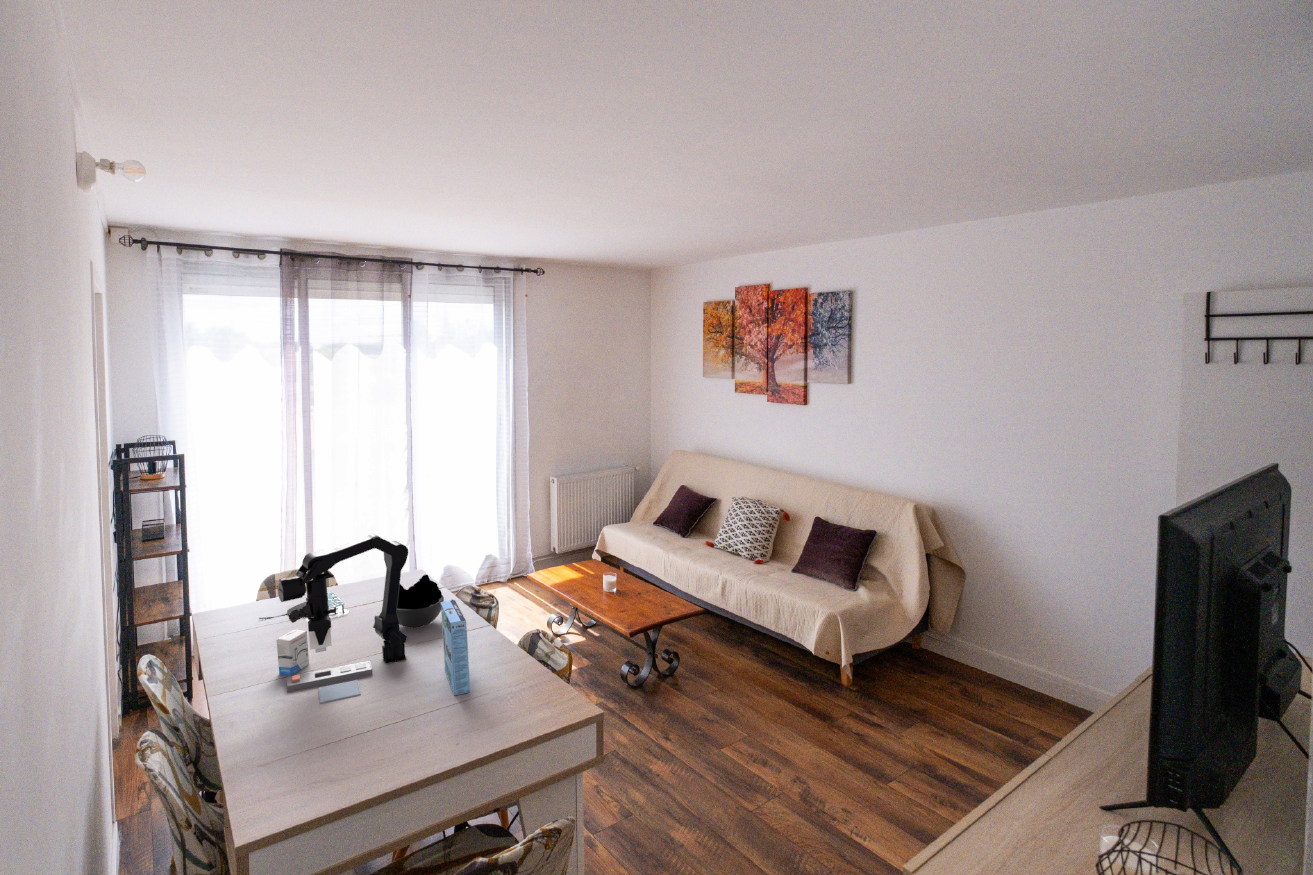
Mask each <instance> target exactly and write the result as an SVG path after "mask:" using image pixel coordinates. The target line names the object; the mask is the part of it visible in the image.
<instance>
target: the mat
mask: <svg viewBox="0 0 1313 875" xmlns="http://www.w3.org/2000/svg"><path fill="white" fill-rule="evenodd" d="M318 695H319V696H318V697H319V704H320V705H321V704H325V703H329V702H335V701H339V700H345V699H348V698H349V699H350V698H353V697H357V696H361V689H360V685H359V680H358V679H355V680H351V681H349V680H348V681H344V682H341V683H335V684H329V685H326V686H325V685H324V686H320V687H318Z"/></svg>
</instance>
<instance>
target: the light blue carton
mask: <svg viewBox="0 0 1313 875" xmlns="http://www.w3.org/2000/svg"><path fill="white" fill-rule="evenodd" d="M440 613H441V625H442V626H441V627H442V640H443V641H442V643H443V659H444V660H443V661H444V671H445V674H446V678H447V679H448V682H449V685H450V688H451V690H452V693H453V695H454V696H460V695H463V694H464V695H465V694H467V693H468V694H469V693H470V692H471V686H470V680H471V679H470V667H469V666H470V665H469V663H470V662H469V648H468V630H467V619H466V618H465V616H464V614H463V613H462V610H461V608H460V606H459V605H458V604H457V600H456V599H453V600H452V599H451V600H446V601H445V600H444V602H441V612H440Z"/></svg>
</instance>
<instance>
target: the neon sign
mask: <svg viewBox="0 0 1313 875" xmlns="http://www.w3.org/2000/svg"><path fill="white" fill-rule="evenodd" d="M327 595H328V606H329V617H330V619H333V618H338V617H343V616H345V615H348V613H349V612H350V611H349V610H348V609H347V608H345V607H344V605H346V603H345V602H344V601H341V600H342V598H340V597H338V596H337V595H336V593H335V592H327ZM282 616H288V615H287V613H284V614H281V615H280V614H279V615H277V616H266V617H258V620H264V619H272V618H273V619H274V618H278V617H282ZM303 619H305V620H306V622H308V621H309V620H308V618H307V615H306V616H305V617H303Z"/></svg>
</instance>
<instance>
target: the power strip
mask: <svg viewBox="0 0 1313 875" xmlns="http://www.w3.org/2000/svg"><path fill="white" fill-rule="evenodd" d="M372 675H373V668H372V663H371V661H370V660H366V661H360V662H355V663H350V664H345V665H340V666H334V667H329V668H325V669H319V670H314V671H309V672H304V673H298V674H293V675H287V677H286V689H287V693H290V692H294V691H298V690H299V691H300V690H304V689H309V688H314V687H318V686H323V685H324V686H325V685H328V684H329V685H330V684H333V683H338V682H343V681H344V682H345V681H349V680H353V679H358V678H361V677H362V678H363V677H367V676H372Z"/></svg>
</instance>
